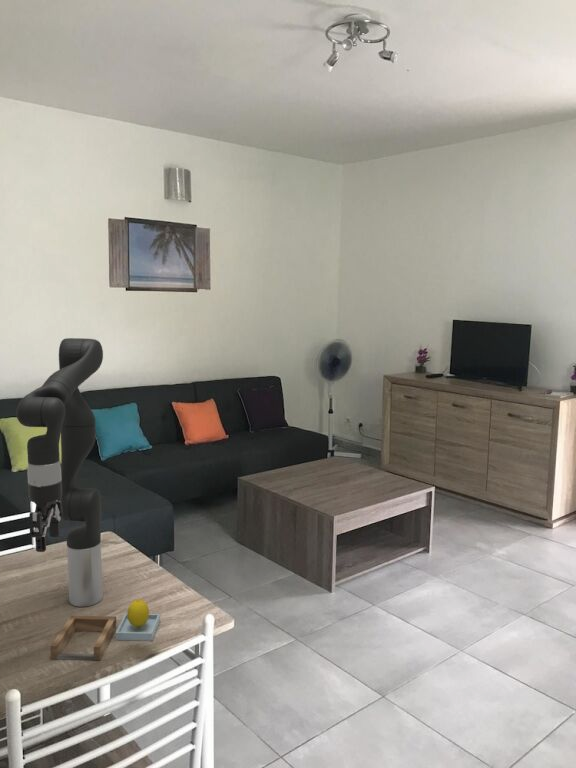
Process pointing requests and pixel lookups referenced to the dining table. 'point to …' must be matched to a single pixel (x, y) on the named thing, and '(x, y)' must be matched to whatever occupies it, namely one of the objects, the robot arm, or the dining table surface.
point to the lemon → (138, 613)
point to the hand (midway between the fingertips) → (48, 543)
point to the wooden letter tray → (84, 624)
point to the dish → (138, 629)
